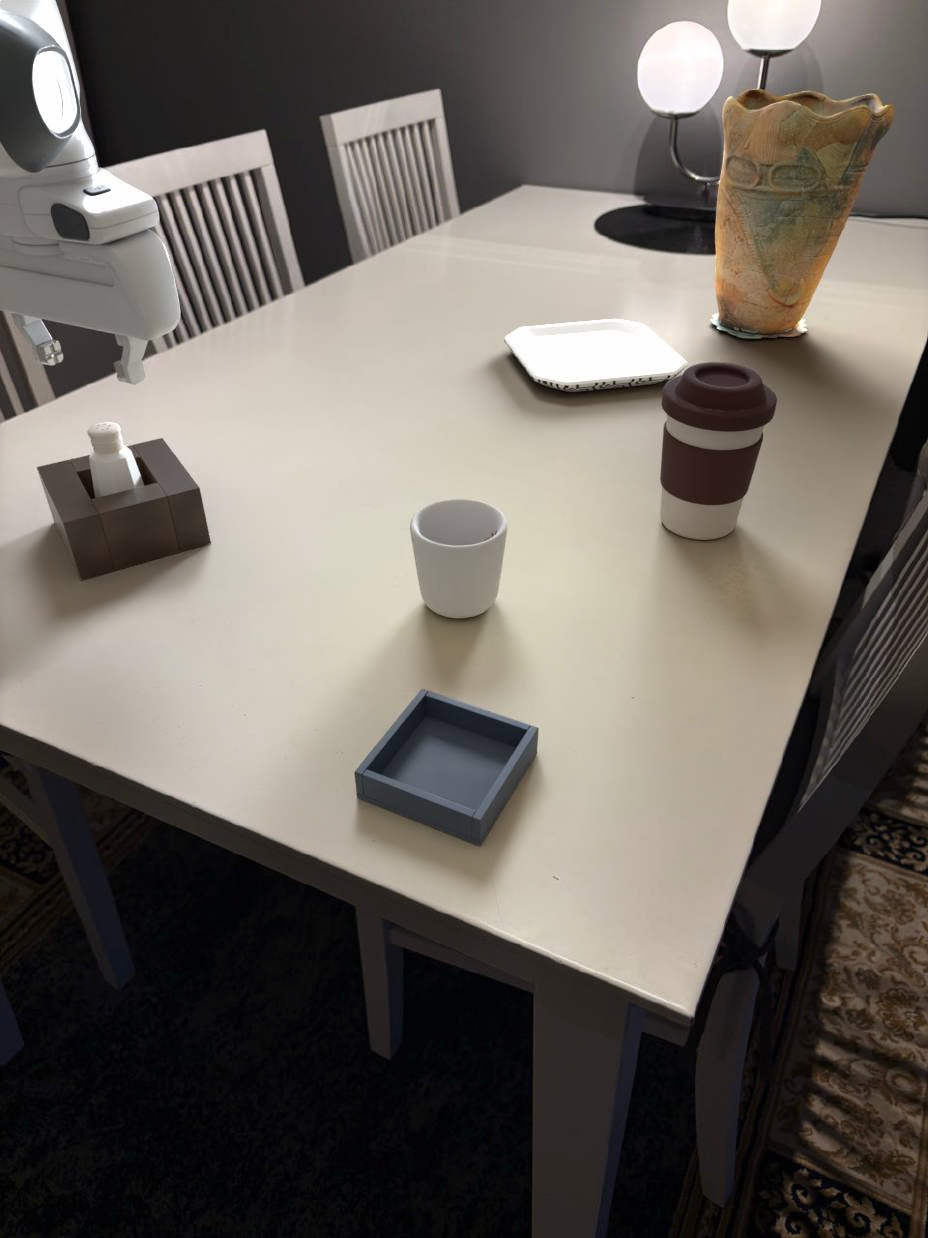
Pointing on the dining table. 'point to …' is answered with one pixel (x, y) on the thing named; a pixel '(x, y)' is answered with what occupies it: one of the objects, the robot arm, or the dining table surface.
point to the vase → (786, 201)
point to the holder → (125, 512)
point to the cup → (459, 555)
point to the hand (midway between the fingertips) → (90, 371)
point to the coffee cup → (711, 446)
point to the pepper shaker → (111, 461)
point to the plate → (594, 355)
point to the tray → (448, 765)
